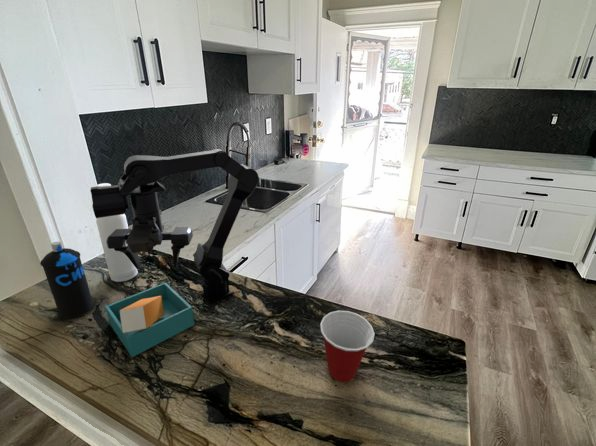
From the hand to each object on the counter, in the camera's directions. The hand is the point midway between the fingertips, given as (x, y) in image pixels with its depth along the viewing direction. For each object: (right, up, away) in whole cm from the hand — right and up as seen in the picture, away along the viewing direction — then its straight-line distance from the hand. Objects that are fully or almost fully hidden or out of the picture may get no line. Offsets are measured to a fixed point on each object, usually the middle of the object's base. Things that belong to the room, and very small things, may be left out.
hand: (156, 267), depth 81 cm
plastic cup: (+46, -21, -13) cm, 52 cm away
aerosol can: (-23, -12, +4) cm, 27 cm away
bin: (-1, -14, -1) cm, 14 cm away
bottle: (-19, -6, +20) cm, 28 cm away
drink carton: (-1, -10, +1) cm, 11 cm away
